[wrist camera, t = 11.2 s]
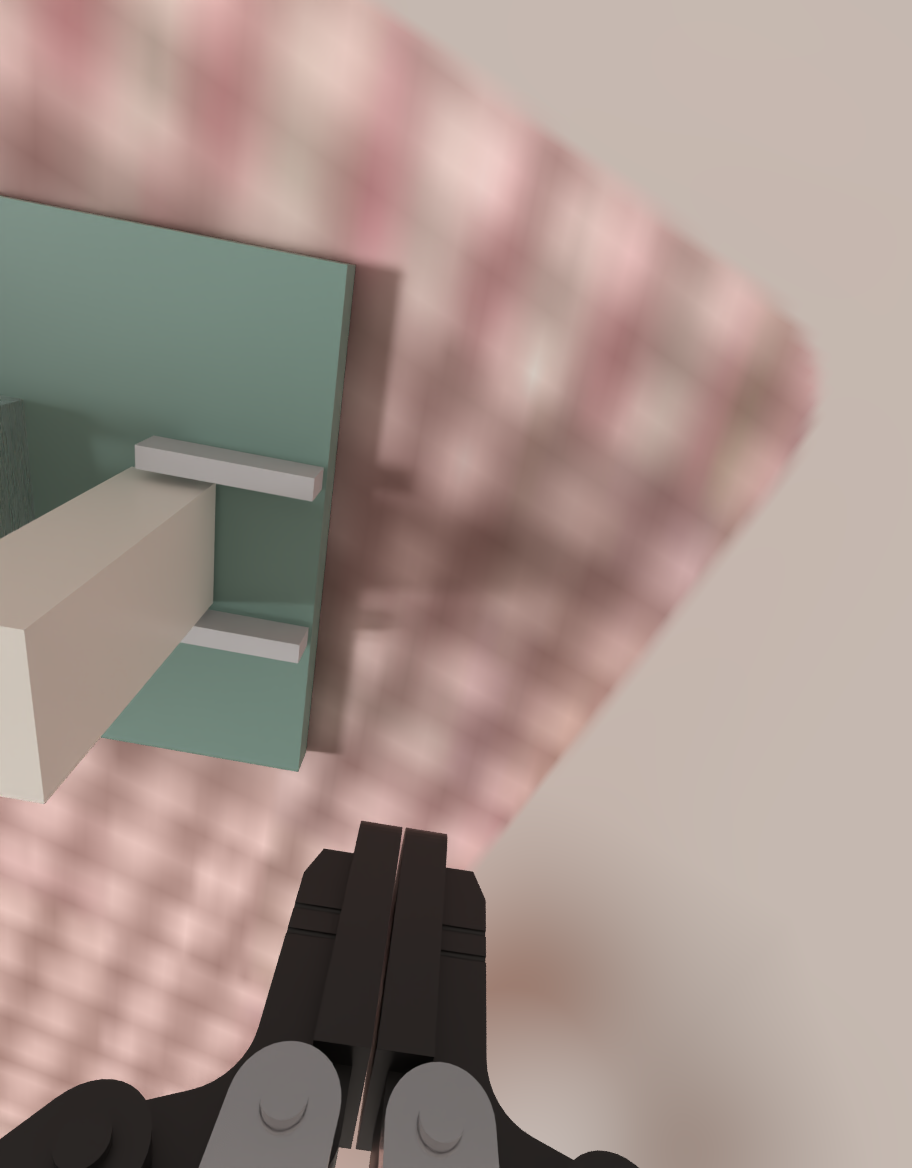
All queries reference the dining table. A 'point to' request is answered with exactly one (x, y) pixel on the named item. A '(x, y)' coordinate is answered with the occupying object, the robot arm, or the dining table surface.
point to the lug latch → (94, 615)
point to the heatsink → (14, 468)
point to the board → (191, 440)
